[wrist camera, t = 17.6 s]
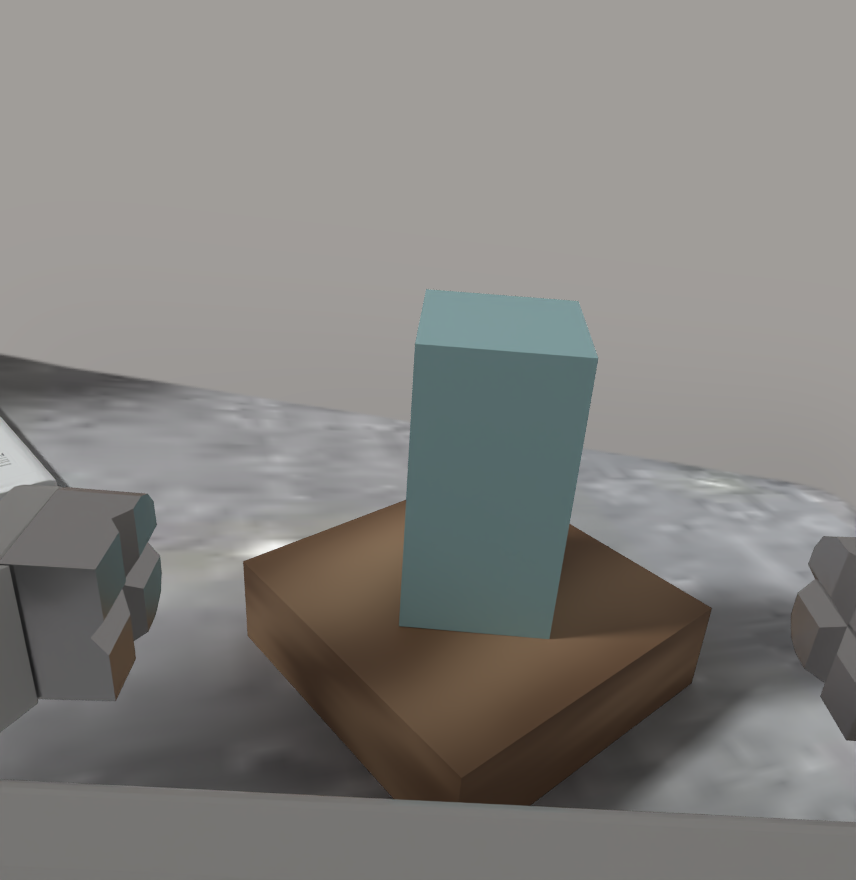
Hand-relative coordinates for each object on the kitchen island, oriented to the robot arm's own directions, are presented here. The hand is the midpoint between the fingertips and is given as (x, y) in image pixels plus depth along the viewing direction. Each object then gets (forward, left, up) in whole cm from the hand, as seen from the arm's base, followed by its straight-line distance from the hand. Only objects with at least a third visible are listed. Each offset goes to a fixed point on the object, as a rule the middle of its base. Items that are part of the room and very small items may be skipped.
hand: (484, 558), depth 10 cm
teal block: (-11, +11, -12) cm, 19 cm away
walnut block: (-11, +11, -16) cm, 22 cm away
